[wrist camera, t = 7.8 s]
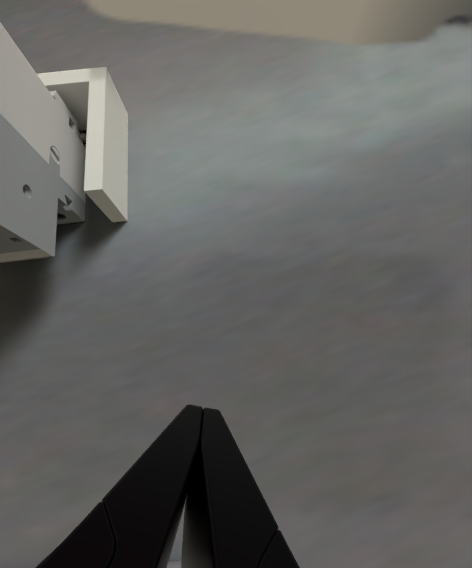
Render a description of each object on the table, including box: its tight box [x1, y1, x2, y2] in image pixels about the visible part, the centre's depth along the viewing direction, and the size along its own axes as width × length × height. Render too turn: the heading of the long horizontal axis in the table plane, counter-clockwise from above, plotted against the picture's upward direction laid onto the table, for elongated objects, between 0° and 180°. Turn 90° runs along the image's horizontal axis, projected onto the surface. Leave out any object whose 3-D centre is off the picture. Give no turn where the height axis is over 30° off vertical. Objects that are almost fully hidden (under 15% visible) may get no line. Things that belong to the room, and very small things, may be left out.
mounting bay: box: [37, 67, 128, 222], centre depth 24 cm, size 10×14×4 cm
